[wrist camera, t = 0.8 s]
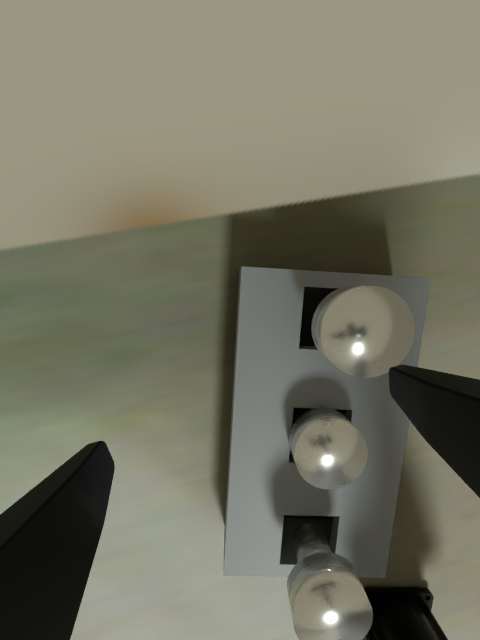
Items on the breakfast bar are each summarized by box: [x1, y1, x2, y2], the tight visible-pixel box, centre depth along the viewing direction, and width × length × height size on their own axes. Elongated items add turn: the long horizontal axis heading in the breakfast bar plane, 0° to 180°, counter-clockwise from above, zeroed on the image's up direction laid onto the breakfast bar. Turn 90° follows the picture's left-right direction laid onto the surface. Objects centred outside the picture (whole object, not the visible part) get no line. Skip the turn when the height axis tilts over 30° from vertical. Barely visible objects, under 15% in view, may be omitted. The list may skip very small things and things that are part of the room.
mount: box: [224, 266, 431, 578], centre depth 20 cm, size 12×22×4 cm, turn 177°
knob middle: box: [289, 408, 368, 489], centre depth 19 cm, size 4×4×5 cm
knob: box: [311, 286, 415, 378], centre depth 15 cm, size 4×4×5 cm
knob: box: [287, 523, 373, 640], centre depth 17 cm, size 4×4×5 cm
